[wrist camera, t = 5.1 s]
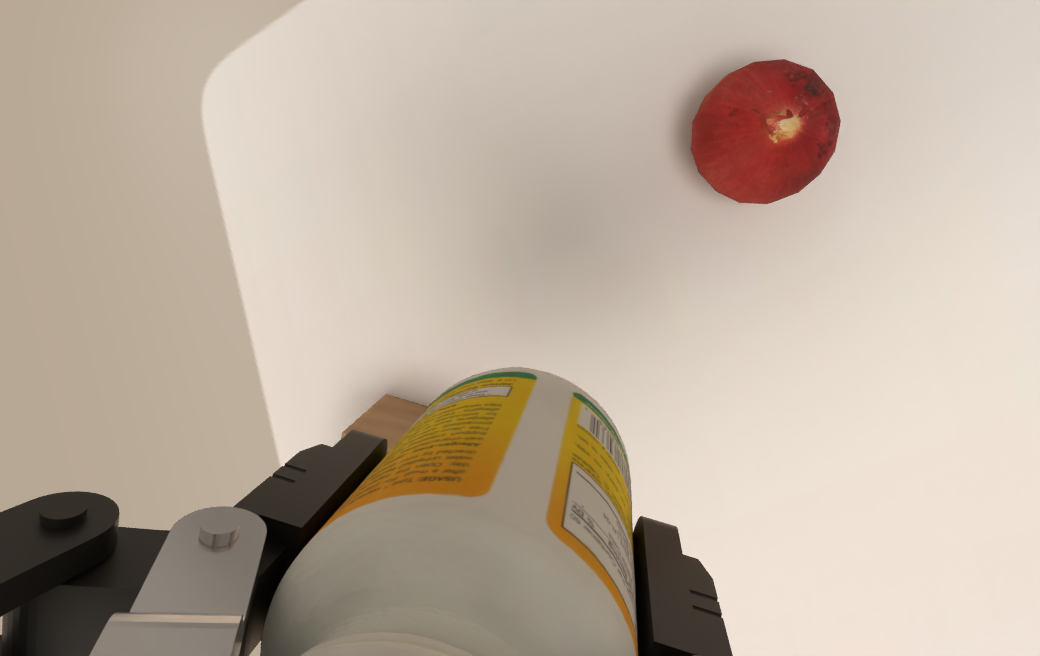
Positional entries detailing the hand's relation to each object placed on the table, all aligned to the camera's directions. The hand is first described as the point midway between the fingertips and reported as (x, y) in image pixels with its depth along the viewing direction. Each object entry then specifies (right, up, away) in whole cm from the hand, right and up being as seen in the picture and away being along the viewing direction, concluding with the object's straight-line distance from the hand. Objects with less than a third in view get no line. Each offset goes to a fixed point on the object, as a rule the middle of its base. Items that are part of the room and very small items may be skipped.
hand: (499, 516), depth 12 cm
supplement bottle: (0, +1, +3) cm, 3 cm away
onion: (+11, +13, +17) cm, 24 cm away
